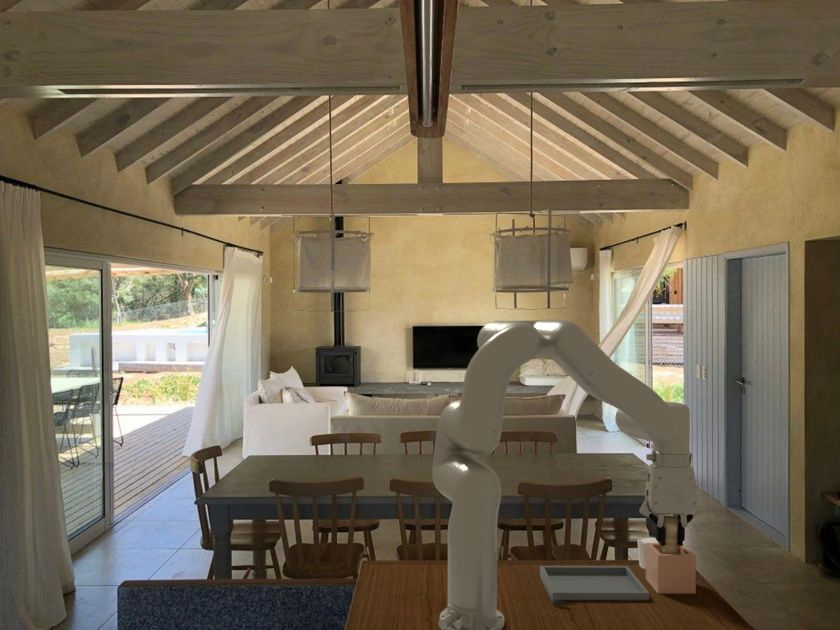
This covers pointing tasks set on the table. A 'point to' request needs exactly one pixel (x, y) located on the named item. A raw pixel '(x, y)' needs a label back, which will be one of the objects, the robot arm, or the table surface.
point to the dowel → (670, 534)
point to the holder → (671, 570)
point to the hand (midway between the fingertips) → (669, 543)
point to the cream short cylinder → (644, 549)
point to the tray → (591, 583)
